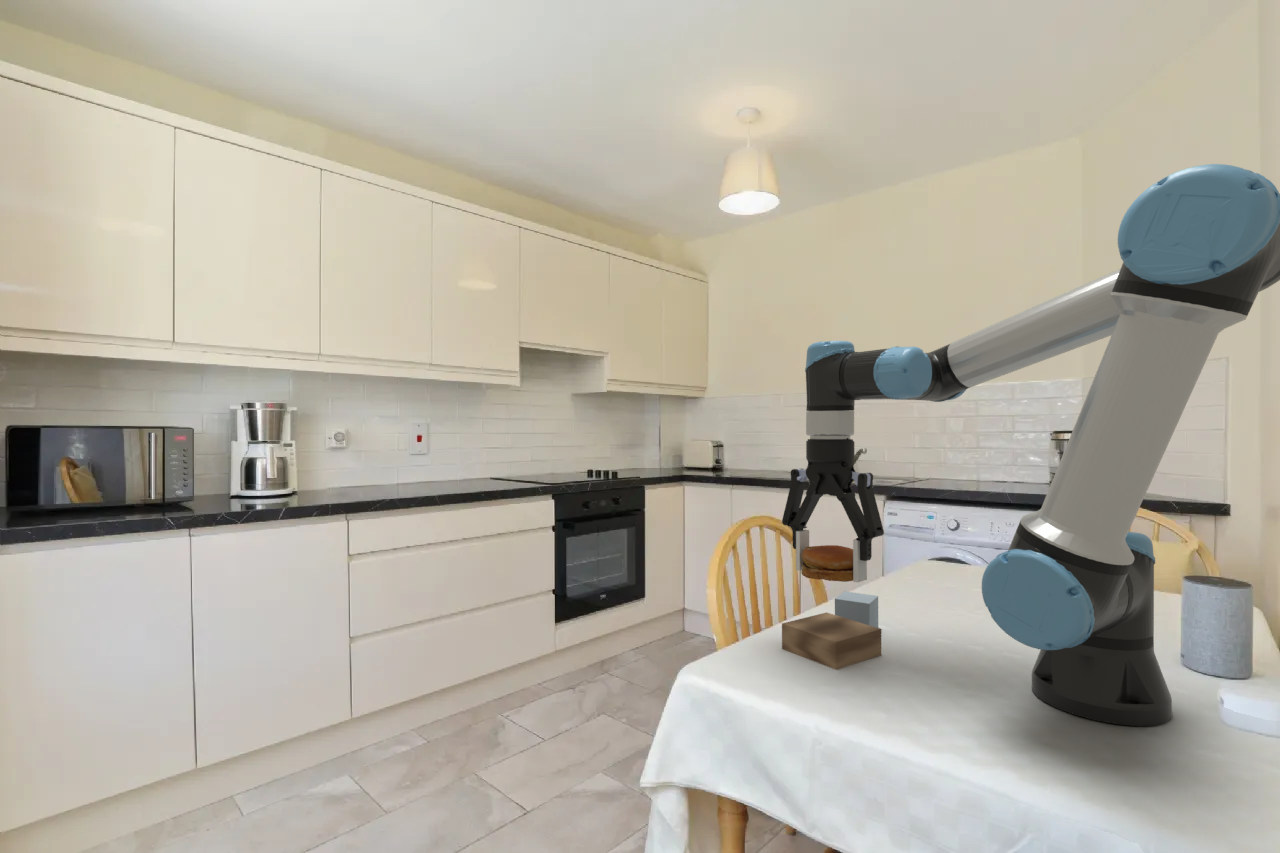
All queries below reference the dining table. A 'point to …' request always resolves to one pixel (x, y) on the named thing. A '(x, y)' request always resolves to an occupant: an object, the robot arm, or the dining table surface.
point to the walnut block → (831, 640)
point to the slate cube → (858, 607)
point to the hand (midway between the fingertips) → (830, 574)
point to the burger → (828, 563)
